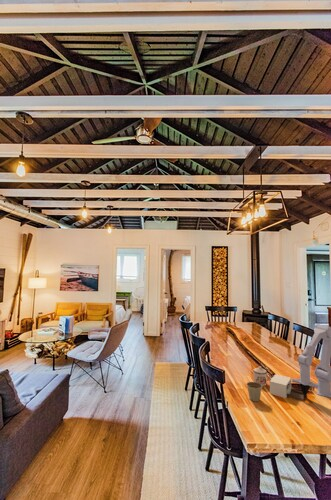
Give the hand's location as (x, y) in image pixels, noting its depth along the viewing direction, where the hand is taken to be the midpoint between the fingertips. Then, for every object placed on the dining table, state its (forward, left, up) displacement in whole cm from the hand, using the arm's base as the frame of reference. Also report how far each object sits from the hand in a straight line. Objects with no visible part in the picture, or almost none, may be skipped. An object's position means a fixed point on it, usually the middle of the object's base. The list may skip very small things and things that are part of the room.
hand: (305, 396), depth 165 cm
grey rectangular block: (0, -15, -1) cm, 15 cm away
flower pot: (+21, -25, -1) cm, 33 cm away
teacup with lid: (-5, -28, -1) cm, 28 cm away
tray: (0, -8, -2) cm, 8 cm away
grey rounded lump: (+2, -10, -1) cm, 10 cm away
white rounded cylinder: (-3, -11, -1) cm, 11 cm away
